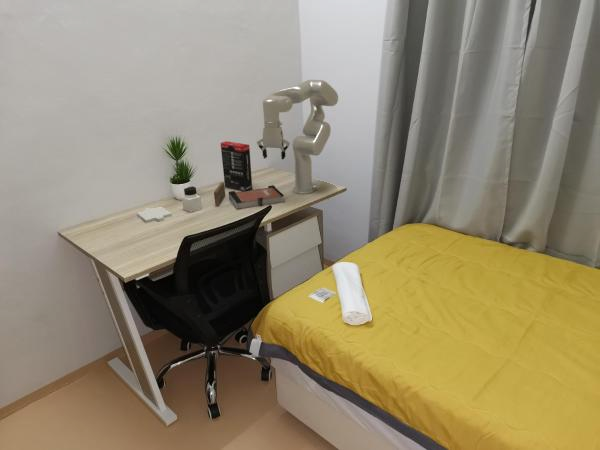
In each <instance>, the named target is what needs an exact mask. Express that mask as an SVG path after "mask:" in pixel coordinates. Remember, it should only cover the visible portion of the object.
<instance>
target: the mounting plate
mask: <svg viewBox="0 0 600 450" xmlns="http://www.w3.org/2000/svg"><path fill="white" fill-rule="evenodd" d="M136 216H137V217H139V218H140V219H141V220H142V221H143V222H144V223H146V224H148V223H152V222H156V221H157V222H163V221H164V219H166V218H170V217H172V212H170V211H168V210H167V209H166V208H164V207H163V206H158V207H153V208H152V207H147V208H144V210H141V211H137V212H136Z"/></svg>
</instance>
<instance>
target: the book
mask: <svg viewBox="0 0 600 450" xmlns="http://www.w3.org/2000/svg"><path fill="white" fill-rule="evenodd" d="M284 197H285V194H283V193H282V192H281V191H280V190H279V189H278V188H276V186H275V185H274V184H272V185H268V187H264V188H257V189H251V190H248V191H237V192H236V191H235V190H231V191H228V198H229V199H228V200H229V201H230V202H231V205H233V206H234V208H235V209H236V211H238V210H245V209H250V208H256V207H263V206H268V205H275V204H280V203H284V202H285V201H284Z"/></svg>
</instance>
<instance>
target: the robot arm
mask: <svg viewBox="0 0 600 450" xmlns="http://www.w3.org/2000/svg"><path fill="white" fill-rule="evenodd" d="M308 99H309V103H310V105H309V106H310V113H309V115H308V117H307V120H306V121H305V123H304V126H303V128H302V133H303V135H298V136H296V137H294V139H293V140H292V151H293V156H294V157H293V158H294V177H295V178H294V181H295V182H294V183H295V184H294V185H295V186H294V187H293V188H292V192H293V193H294V194H298V195H299V194H300V195H306V194H312V193H314V191H315V189H320V184H318V183H315V184H314V183H313V181H312V178H313V177H312V159H311V156H315V157H317V156H319V155H320V154H321V153H322V152H323V150H324V148H325V146H326V144H327V143H328V140H329V138H330V135H331V125H330V124H329V123H328V122H327V121H325V119H326V117H325V116H326V115H325V111H324V109H323V106H325V107H334V106H336V105H337V104H338V102H339V94H338V93H337V91H336V89H334V88H333V87H332V86H331V85H330V84H329V83H328V82H327V81H325V80H321V79H307V80H304V81H303V82H301V83H299V84H297V85H295V86H292V87H288V88H284V89H281V90H277V91H275V92H273V93H271V94H269V95H268V96H267V97H266V98H265V99H263V100H262V108H263V109H262V110H263V111H262V112H263V113H262V114H263V124H264V127H263V129H262V138H261V139H260V140H258V141H256V144H257V146H258V148H259V149H260V150H261V151H262V157H263V159H266V158H268V154H267V153H268V151H267V148H269V149H270V148H271V149H272V148H275V149H280V151H281V154H280V155H281V160H284V159H286V151H287V149H288V148H289V146H290V144H291V142H290V141H288V140H286V139H285V138H284V137H285V136H284V131H283V127H282V126H283V122H281V121H280V113H287V112H289V111H291V110H292V108H293V106H294V104H299V103H300V104H301V103H303V102H305V101H306V100H308Z"/></svg>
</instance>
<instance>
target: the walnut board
mask: <svg viewBox="0 0 600 450" xmlns="http://www.w3.org/2000/svg"><path fill="white" fill-rule="evenodd" d="M213 197H214V206H215V208H217V207H220V205H221V203H222V202H223V201H224V199H225V197H226V187H225V182H224V181H221V182H220V183H219V184H218V186H217V187H216V189H215V190H214V192H213Z"/></svg>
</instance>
